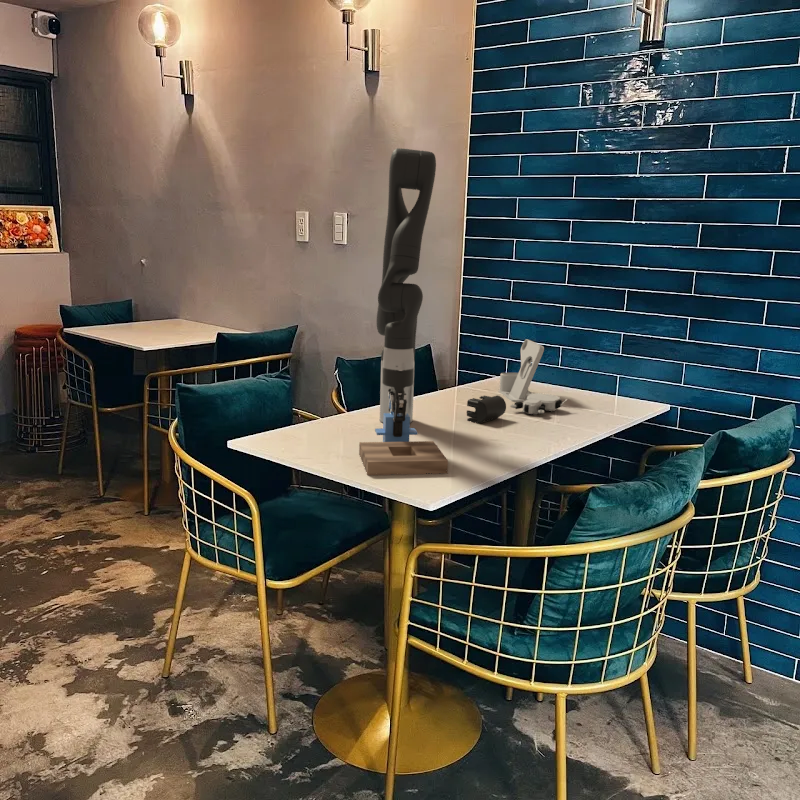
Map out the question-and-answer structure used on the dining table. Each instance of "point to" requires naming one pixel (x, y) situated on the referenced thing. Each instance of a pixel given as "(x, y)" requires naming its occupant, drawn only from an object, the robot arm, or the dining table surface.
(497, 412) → the end cap
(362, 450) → the board
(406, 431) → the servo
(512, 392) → the phone holder
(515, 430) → the dining table surface
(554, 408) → the robot toy
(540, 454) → the dining table surface
